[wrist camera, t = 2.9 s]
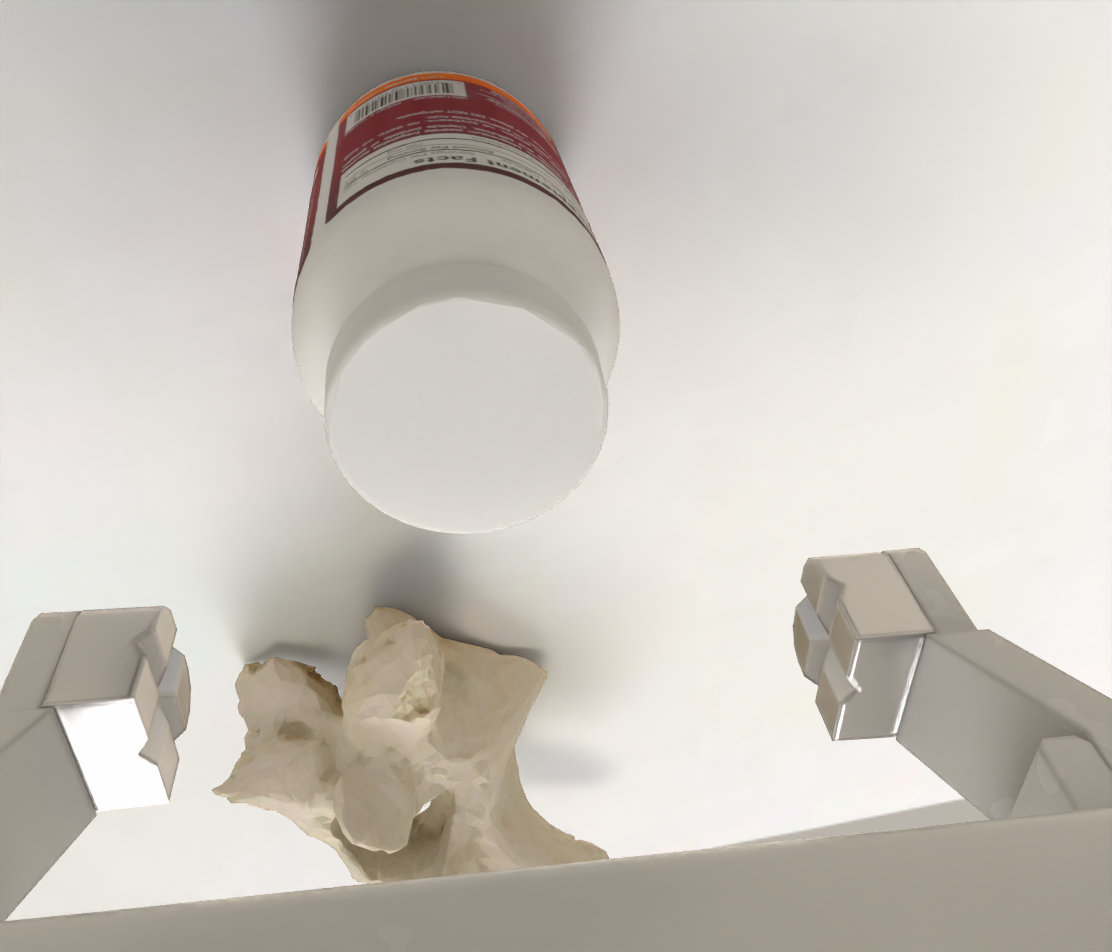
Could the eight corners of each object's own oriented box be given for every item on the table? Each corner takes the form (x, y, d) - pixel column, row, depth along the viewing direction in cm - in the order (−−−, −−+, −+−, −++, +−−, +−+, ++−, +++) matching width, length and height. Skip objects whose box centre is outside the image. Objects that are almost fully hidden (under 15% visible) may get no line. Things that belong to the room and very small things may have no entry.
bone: (401, 519, 33) (426, 676, 26) (659, 731, 39) (734, 902, 32) (211, 691, 34) (185, 883, 27) (490, 868, 41) (527, 1059, 34)
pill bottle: (476, 344, 28) (513, 620, 19) (270, 227, 25) (202, 483, 17) (613, 157, 26) (728, 374, 17) (399, 5, 23) (402, 168, 14)
